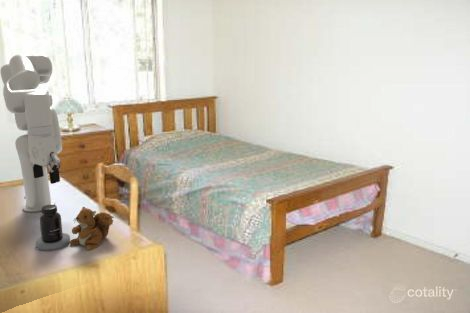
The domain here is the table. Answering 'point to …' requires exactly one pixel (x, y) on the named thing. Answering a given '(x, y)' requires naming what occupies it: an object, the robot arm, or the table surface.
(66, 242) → the slate plate
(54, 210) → the supplement bottle
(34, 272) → the table surface
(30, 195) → the robot arm
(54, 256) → the table surface
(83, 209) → the stuffed squirrel
